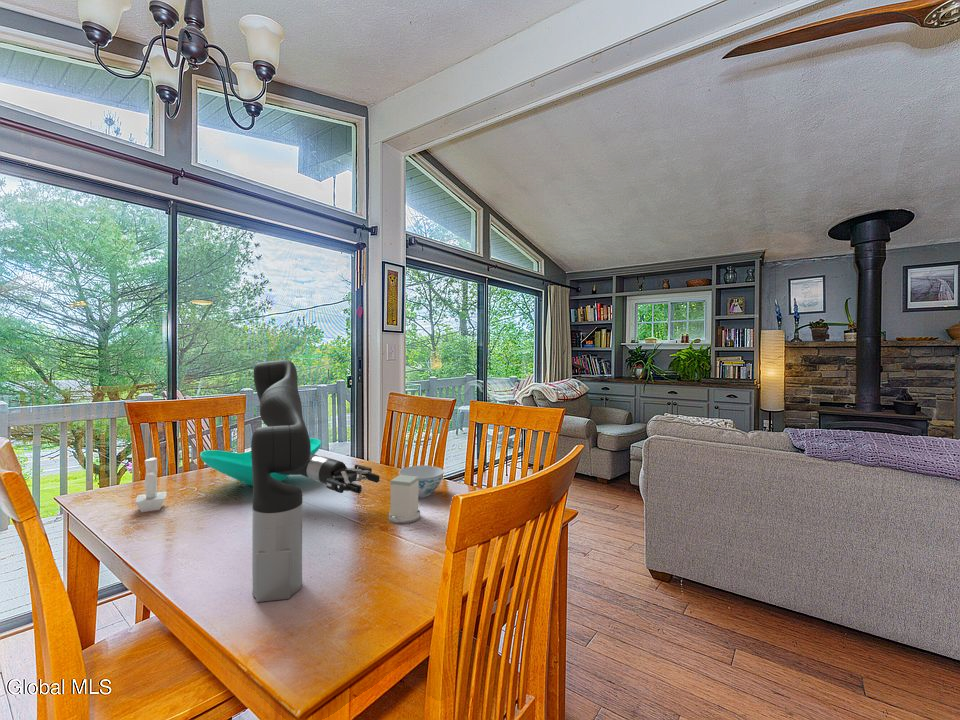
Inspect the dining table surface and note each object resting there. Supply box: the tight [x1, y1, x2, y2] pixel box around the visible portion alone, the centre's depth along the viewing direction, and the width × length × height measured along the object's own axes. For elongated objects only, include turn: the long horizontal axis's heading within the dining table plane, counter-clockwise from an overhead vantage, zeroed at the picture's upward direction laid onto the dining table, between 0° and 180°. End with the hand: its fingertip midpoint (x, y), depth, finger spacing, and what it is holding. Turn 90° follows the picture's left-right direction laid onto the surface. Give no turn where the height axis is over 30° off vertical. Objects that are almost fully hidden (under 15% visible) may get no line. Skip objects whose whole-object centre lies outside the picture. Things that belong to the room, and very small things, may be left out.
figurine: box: [134, 457, 168, 513], centre depth 134 cm, size 7×9×15 cm
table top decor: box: [199, 437, 323, 487], centre depth 160 cm, size 40×28×13 cm
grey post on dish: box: [388, 509, 421, 525], centre depth 130 cm, size 9×9×8 cm
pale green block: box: [389, 474, 419, 518], centre depth 130 cm, size 6×6×10 cm
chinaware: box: [398, 465, 445, 498], centre depth 151 cm, size 15×15×8 cm
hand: (370, 484), depth 132 cm, fingers open, 8 cm apart
